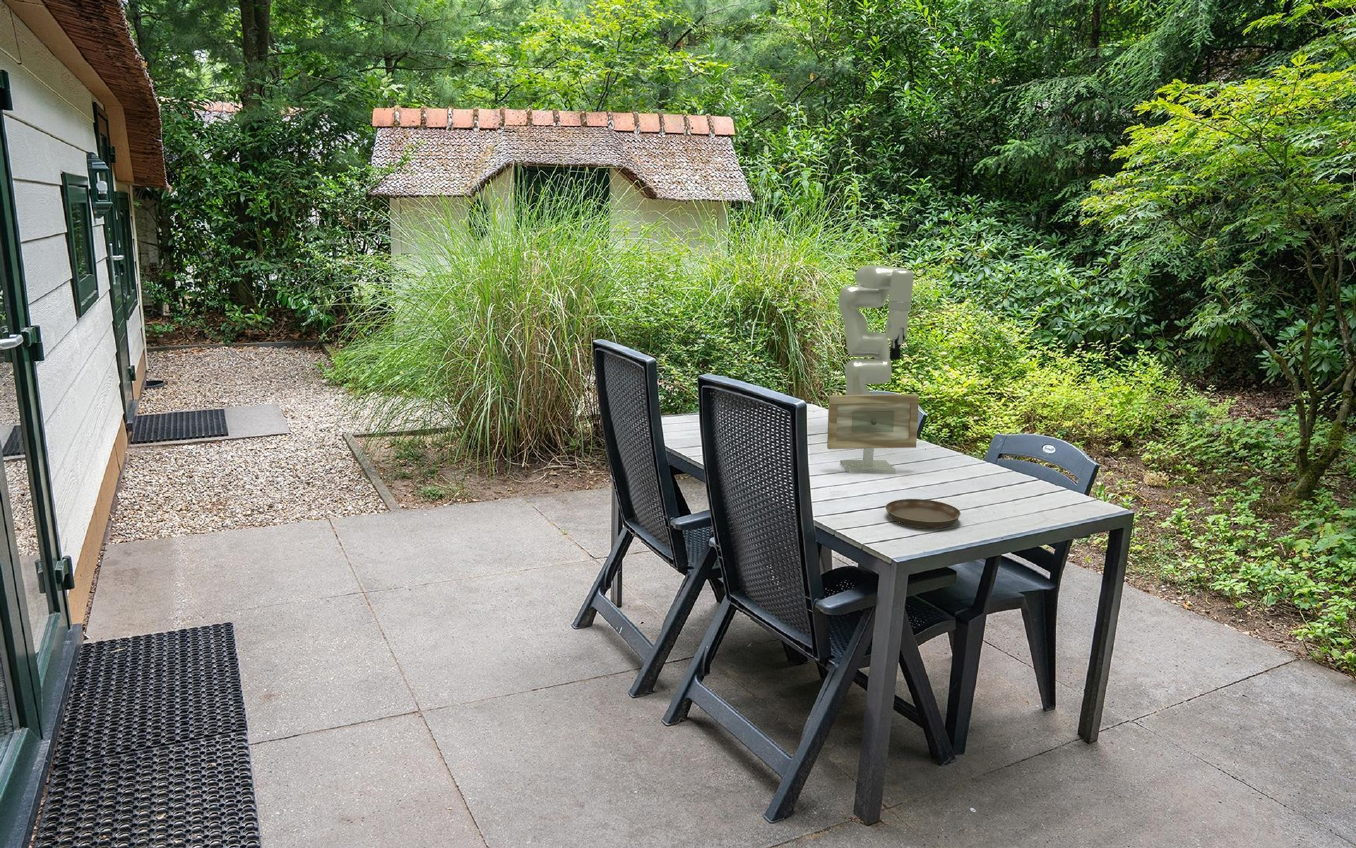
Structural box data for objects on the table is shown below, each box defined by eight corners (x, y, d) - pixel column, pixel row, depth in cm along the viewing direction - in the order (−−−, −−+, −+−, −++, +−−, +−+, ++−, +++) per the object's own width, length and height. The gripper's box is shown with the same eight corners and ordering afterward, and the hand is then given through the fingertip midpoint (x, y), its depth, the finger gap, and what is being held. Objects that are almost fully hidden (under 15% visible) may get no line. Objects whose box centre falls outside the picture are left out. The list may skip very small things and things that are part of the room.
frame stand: (840, 464, 325) (843, 413, 321) (885, 464, 326) (889, 414, 322) (848, 473, 313) (852, 420, 309) (895, 473, 314) (899, 421, 310)
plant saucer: (914, 535, 252) (916, 523, 251) (870, 513, 270) (871, 502, 270) (975, 527, 260) (976, 516, 260) (927, 506, 279) (928, 495, 278)
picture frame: (827, 447, 315) (828, 395, 311) (914, 446, 317) (917, 394, 313) (828, 449, 313) (830, 396, 309) (916, 448, 315) (919, 395, 311)
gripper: (882, 303, 326) (878, 355, 330) (894, 308, 311) (889, 363, 316) (903, 304, 326) (899, 355, 331) (916, 309, 312) (911, 363, 316)
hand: (894, 359), depth 323 cm, fingers closed
